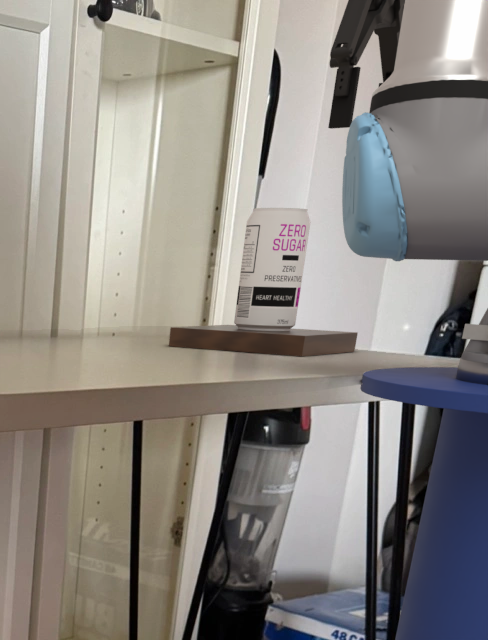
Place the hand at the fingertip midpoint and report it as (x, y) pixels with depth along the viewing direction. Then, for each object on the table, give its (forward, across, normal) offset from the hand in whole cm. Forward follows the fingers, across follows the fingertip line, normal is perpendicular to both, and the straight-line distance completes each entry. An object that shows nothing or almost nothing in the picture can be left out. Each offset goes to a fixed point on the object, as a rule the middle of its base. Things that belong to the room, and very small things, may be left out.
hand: (360, 133), depth 136 cm
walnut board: (+27, +10, -5) cm, 29 cm away
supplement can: (+25, +10, -5) cm, 27 cm away
